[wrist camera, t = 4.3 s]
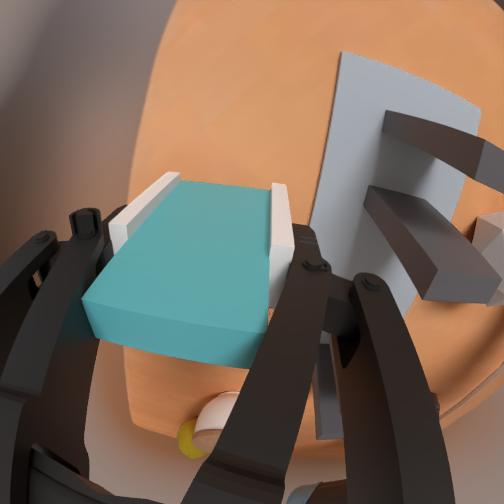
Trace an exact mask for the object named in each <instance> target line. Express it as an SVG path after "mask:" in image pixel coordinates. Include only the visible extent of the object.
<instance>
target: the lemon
mask: <svg viewBox="0 0 504 504" xmlns="http://www.w3.org/2000/svg"><path fill="white" fill-rule="evenodd" d="M197 419H198V417H197V418H195V419H192V420H188V421H186V422H185V423H183V424H182V426H181V427H180V430H179V432H178V446H179V448H180V450H181V451H182V452H183V453H184V454H185V455H187V456H188V457H189V458H190V459H194V458H198V457H201V456H203V455H205V454H206V452H204V451H201V450H199V449H198V448H196V447H195V446H194V445H193V444H192V442H191V441H192V436H193V434H194V430H195V426H196V422H197Z"/></svg>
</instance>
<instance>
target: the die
mask: <svg viewBox="0 0 504 504" xmlns="http://www.w3.org/2000/svg"><path fill="white" fill-rule="evenodd" d="M472 245H473V246H474V247H475V248H476V249H477V250H478V251H479V252H480V253H481V255H482V256H483V257H484V258H485V259H486V260H487V261H488V263H489V264H490V265H491V266H492V267H493V268H494V270H495V271H496V272H497V273H498V274H499V276H500V277H501V278H502V281H501V283H500V285H499V286H498V288H497V290H496V291H495V293H494V295H493V296H492V298H491V300H490V301H489V303H488V304H486V305H487V307H489V306H498V305H504V211H500V212H495V213H491V214H486V215H482V216H478V217H477V222H476V227H475V232H474V237H473V241H472Z"/></svg>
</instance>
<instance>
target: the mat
mask: <svg viewBox="0 0 504 504" xmlns="http://www.w3.org/2000/svg"><path fill="white" fill-rule="evenodd" d="M386 110H390V111H394V112H399V113H403V114H407V115H411V116H415V117H419V118H422V119H426V120H429V121H433V122H436V123H440V124H443V125H446V126H449V127H452V128H455V129H458V130H461V131H464V132H466V133H469V134H472V135H474V136H477V132H478V128H479V123H480V117H481V112H482V109H480V108H478V107H477V106H475V105H473V104H472V103H470V102H468V101H466V100H465V99H463V98H461V97H459V96H457V95H456V94H454V93H452V92H450V91H448V90H446V89H444V88H442V87H440V86H438V85H436V84H434V83H431V82H429V81H427V80H425V79H423V78H420V77H418V76H416V75H413V74H411V73H408V72H406V71H403V70H401V69H398V68H395V67H393V66H390V65H387V64H384V63H382V62H379V61H376V60H372V59H369V58H366V57H363V56H359V55H356V54H352V53H349V52H345V51H341V55H340V63H339V70H338V76H337V83H336V90H335V96H334V102H333V108H332V114H331V119H330V125H329V131H328V136H327V141H326V147H325V152H324V157H323V162H322V167H321V172H320V177H319V182H318V186H317V191H316V196H315V200H314V205H313V209H312V214H311V218H310V223H309V226H310V227H311V228H312V229H313V230H314V231H315V234H316V237H317V241H318V245H319V248H320V252H321V256H322V258H323V259H324V260H326V261H327V262H328V263H329V264H330V265H331V268H332V273H333V274H335V275H337V276H339V277H342V278H345V279H348V280H351V281H353V278H354V276H355V275H356V274H358V273H361V272H367V273H372V274H375V275H377V276H379V277H380V278H382V279H383V280H384V281H385V282H386V283H387V285H388V286H389V288H390V290H391V293H392V295H393V297H394V299H395V301H396V304H397V306H398V308H399V310H400V313H401V315H402V317H403V318H404V316H405V314H406V313H407V311H408V309H409V308H410V306H411V304H412V302H413V300H414V299H415V297H416V295H417V293H418V291H417V290H416V288H415V286H414V284H413V283H412V281H411V279H410V277H409V276H408V274H407V272H406V271H405V269H404V267H403V266H402V264H401V262H400V261H399V259H398V257H397V256H396V254H395V253H394V251H393V249H392V248H391V246H390V245H389V243H388V242H387V240H386V238H385V237H384V235H383V234H382V232H381V231H380V229H379V228H378V226H377V225H376V224H375V222H374V221H373V219H372V218H371V216H370V215H369V213H368V212H367V211H366V209H365V208H364V206H363V203H364V200H365V196H366V193H367V189H368V185H371V186H376V187H380V188H384V189H388V190H393V191H397V192H401V193H404V194H408V195H412V196H416V197H420V198H423V199H425V200H427V201H428V202H429V203H430V204H431V205H432V206H433V207H434V208H435V209H437V210H438V211H439V212H440V213H441V214H442V215H443V216H444V217H445V218H446V219H447V220H448V221H449V222H451V219H452V217H453V214H454V211H455V209H456V206H457V203H458V200H459V197H460V194H461V191H462V188H463V185H464V182H465V179H466V175H465V174H464V173H462V172H460V171H459V170H457V169H455V168H453V167H452V166H450V165H448V164H446V163H445V162H443V161H441V160H439V159H437V158H435V157H434V156H432V155H430V154H428V153H426V152H424V151H422V150H420V149H418V148H416V147H414V146H412V145H410V144H408V143H405V142H403V141H401V140H399V139H397V138H395V137H392V136H390V135H388V134H385V133H383V132H381V131H382V126H383V121H384V116H385V111H386ZM320 344H329V338H328V333H327V332H324V331H322V334H321V339H320Z"/></svg>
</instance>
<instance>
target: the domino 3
mask: <svg viewBox="0 0 504 504" xmlns="http://www.w3.org/2000/svg"><path fill="white" fill-rule="evenodd" d="M363 206H364V208H365V209H366V211H367V212H368V213H369V215H370V216H371V218H372V219H373V221H374V222H375V224H376V225H377V226H378V228H379V229H380V231H381V232H382V234H383V235H384V237H385V238H386V240H387V242H388V243H389V245H390V246H391V248H392V249H393V251H394V253H395V254H396V256H397V257H398V259H399V261H400V262H401V264H402V266H403V267H404V269H405V271H406V272H407V274H408V276H409V277H410V279H411V281H412V283H413V284H414V286H415V288H416V290H417V291H418V293H419V295H420V297H421V299H422V300H429V301H444V302H461V303H481V304H488V303H489V301H490V300H491V298H492V296H493V295H494V293H495V291H496V290H497V288H498V286H499V285H500V283H501V281H502V278H501V277H500V276H499V274H498V273H497V272H496V271H495V270H494V268H493V267H492V266H491V265H490V264H489V263H488V261H487V260H486V259H485V258H484V257H483V256H482V255H481V253H480V252H479V251H478V250H477V249H476V248H475V247H474V246H473V245H472V244H471V243H470V242H469V241H468V240H467V239H466V237H465V236H464V235H463V234H462V233H461V232H460V231H459V230H458V229H457V228H456V227H455V226H454V225H453V224H451V223H450V222H449V221H448V220H447V219H446V218H445V217H444V216H443V215H442V214H441V213H440V212H439V211H438V210H437V209H435V208H434V207H433V206H432V205H431V204H430V203H429V202H428V201H427V200H425V199H423V198H420V197H416V196H412V195H408V194H404V193H401V192H397V191H393V190H388V189H384V188H380V187H376V186H371V185H368V189H367V193H366V196H365V200H364V203H363Z"/></svg>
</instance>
